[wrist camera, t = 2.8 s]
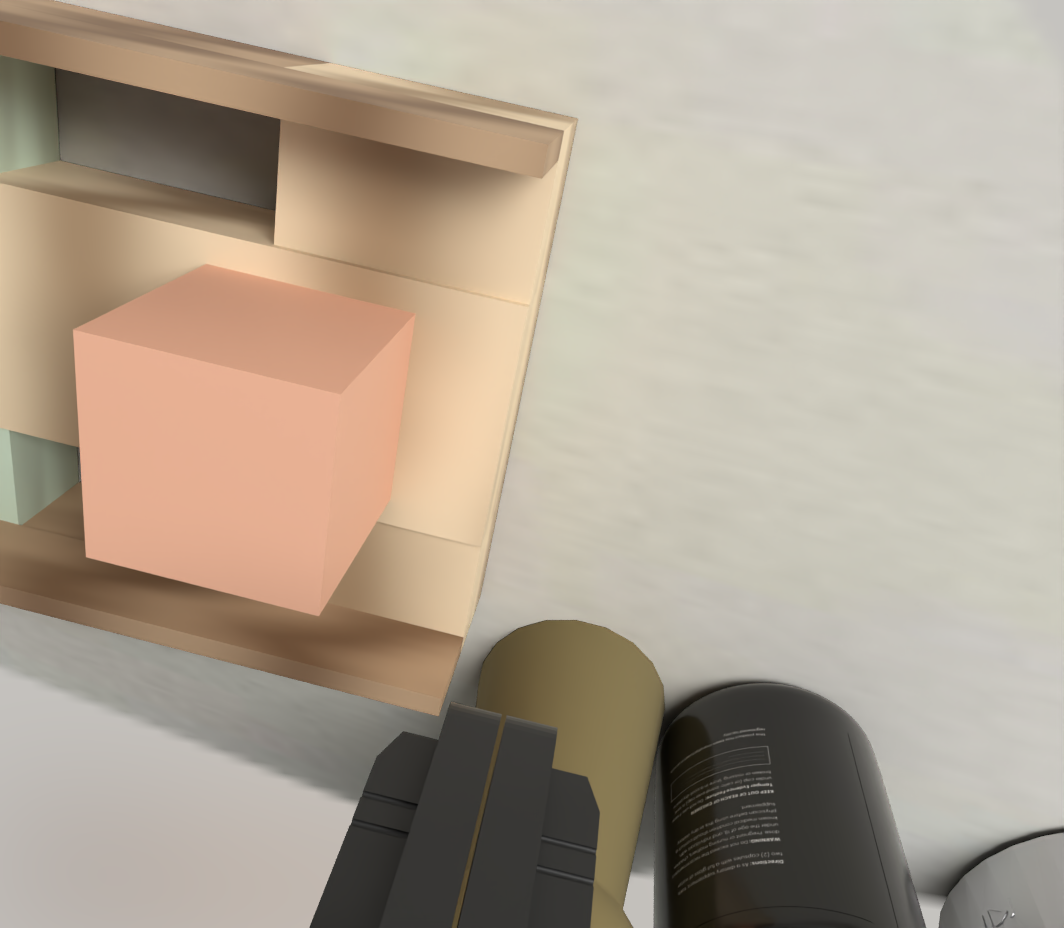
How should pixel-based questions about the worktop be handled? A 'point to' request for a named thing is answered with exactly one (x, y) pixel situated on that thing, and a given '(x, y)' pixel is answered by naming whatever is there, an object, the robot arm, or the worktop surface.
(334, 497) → the block
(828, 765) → the supplement bottle
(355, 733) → the worktop surface
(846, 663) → the worktop surface
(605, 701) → the cork
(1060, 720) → the worktop surface
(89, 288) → the wooden organizer box
